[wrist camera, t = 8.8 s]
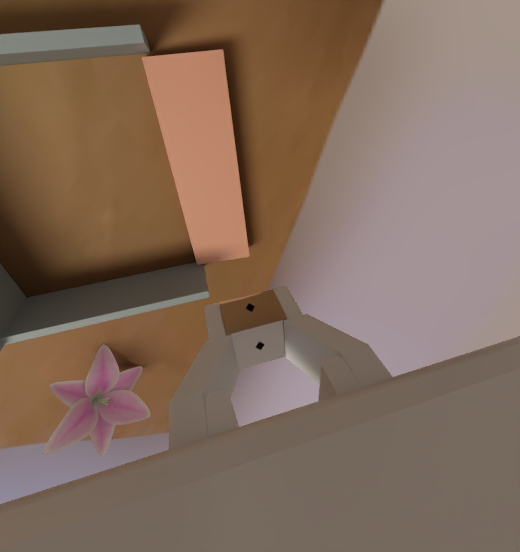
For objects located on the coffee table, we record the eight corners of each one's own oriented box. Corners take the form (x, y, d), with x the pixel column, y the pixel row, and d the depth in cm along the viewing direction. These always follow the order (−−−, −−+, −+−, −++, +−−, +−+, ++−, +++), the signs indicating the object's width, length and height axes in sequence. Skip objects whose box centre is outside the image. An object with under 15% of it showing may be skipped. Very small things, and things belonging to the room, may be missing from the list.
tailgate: (141, 56, 20) (222, 49, 20) (144, 58, 21) (222, 50, 21) (197, 264, 31) (249, 256, 31) (197, 259, 32) (248, 251, 32)
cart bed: (-172, 63, 17) (-334, 52, 12) (147, 39, 20) (137, 21, 15) (23, 304, 29) (-12, 355, 24) (203, 266, 32) (210, 303, 27)
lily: (154, 387, 44) (171, 421, 36) (74, 437, 39) (73, 490, 31) (120, 324, 40) (130, 347, 32) (26, 371, 35) (9, 412, 27)
